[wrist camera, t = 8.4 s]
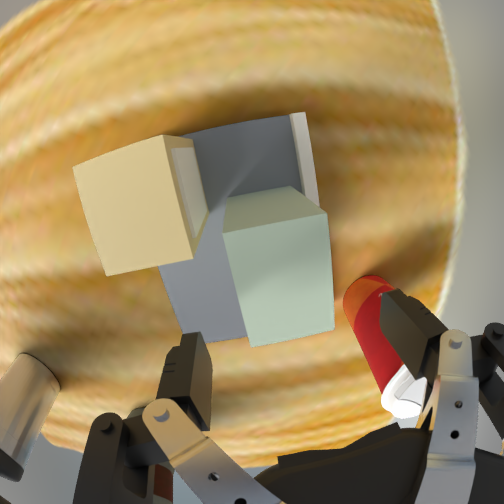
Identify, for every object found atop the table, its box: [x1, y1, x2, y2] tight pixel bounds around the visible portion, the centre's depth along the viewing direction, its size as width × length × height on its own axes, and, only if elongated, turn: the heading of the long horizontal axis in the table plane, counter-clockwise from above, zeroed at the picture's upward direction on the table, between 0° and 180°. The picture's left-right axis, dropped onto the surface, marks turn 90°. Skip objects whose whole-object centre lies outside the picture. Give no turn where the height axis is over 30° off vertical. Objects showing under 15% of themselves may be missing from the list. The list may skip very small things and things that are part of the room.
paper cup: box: [343, 275, 427, 418], centre depth 21 cm, size 8×8×14 cm
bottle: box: [127, 408, 175, 504], centre depth 21 cm, size 9×9×30 cm
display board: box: [158, 112, 320, 343], centre depth 23 cm, size 14×19×3 cm
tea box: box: [222, 186, 335, 347], centre depth 18 cm, size 5×7×9 cm
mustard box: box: [73, 134, 209, 276], centre depth 16 cm, size 5×6×9 cm
